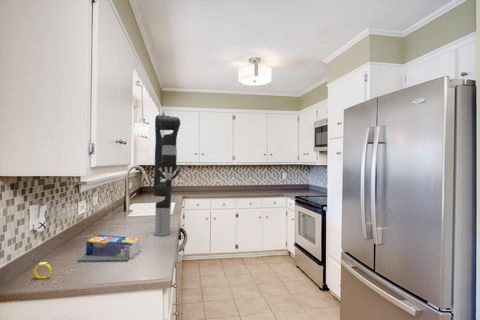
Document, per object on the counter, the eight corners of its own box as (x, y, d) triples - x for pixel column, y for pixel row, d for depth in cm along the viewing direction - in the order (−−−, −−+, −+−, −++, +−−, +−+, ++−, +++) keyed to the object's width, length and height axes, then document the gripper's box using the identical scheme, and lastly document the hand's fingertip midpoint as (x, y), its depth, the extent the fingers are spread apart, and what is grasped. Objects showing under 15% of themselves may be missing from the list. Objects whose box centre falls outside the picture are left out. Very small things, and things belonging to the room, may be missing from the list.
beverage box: (141, 238, 143) (99, 234, 145) (131, 244, 132) (86, 240, 134) (140, 251, 143) (98, 247, 145) (130, 259, 132) (85, 255, 134)
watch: (32, 280, 108) (31, 265, 108) (37, 277, 111) (36, 262, 111) (49, 278, 109) (48, 263, 109) (53, 275, 112) (52, 261, 112)
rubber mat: (92, 250, 143) (92, 248, 143) (136, 250, 145) (137, 248, 145) (77, 262, 127) (77, 259, 127) (127, 261, 129) (127, 259, 129)
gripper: (182, 154, 153) (182, 186, 153) (158, 154, 152) (157, 186, 152) (181, 154, 145) (180, 187, 145) (155, 153, 144) (154, 187, 144)
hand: (168, 186), depth 149 cm, fingers closed
